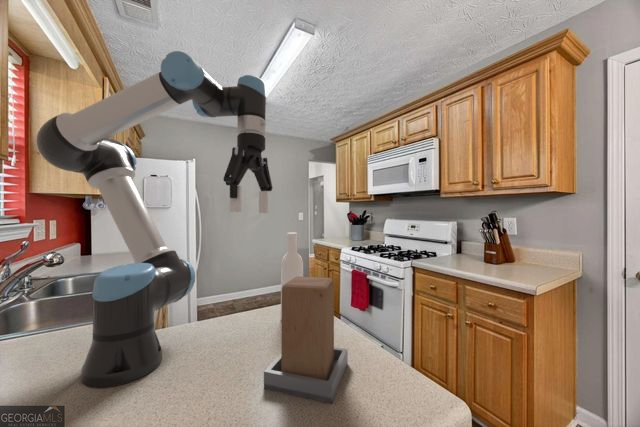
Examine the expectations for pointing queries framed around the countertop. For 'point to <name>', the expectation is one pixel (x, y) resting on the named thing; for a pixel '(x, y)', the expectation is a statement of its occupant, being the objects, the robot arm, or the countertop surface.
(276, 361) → the tray
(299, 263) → the bottle
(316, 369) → the wooden block
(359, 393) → the countertop surface
